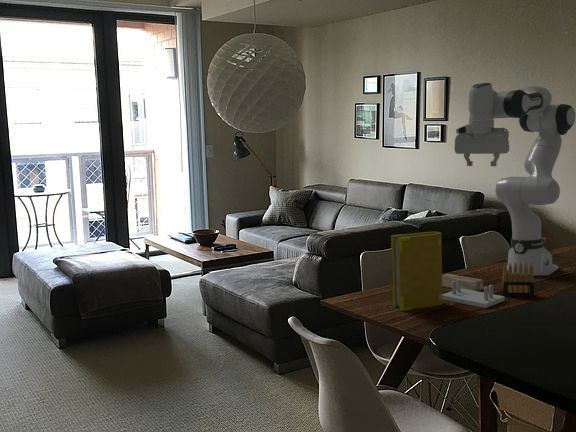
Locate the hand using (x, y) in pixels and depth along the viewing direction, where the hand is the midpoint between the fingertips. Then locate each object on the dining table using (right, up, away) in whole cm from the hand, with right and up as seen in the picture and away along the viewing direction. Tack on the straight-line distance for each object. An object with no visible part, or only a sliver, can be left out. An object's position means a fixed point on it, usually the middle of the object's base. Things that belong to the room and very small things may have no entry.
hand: (481, 166), depth 237 cm
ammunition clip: (+11, -47, -7) cm, 49 cm away
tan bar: (-6, -46, +8) cm, 47 cm away
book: (-25, -50, -13) cm, 57 cm away
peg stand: (-6, -48, -9) cm, 49 cm away
